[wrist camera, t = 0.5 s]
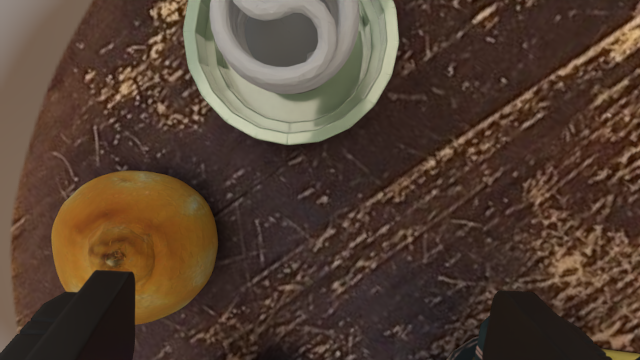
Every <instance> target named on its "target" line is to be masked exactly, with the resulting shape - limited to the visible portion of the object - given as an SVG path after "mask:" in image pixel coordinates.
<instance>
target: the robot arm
mask: <svg viewBox="0 0 640 360" xmlns="http://www.w3.org/2000/svg"><path fill="white" fill-rule="evenodd" d="M134 345H135V276H134V273H133V272H131V271H111V270H95V271H94V272H93V273H92V275H91V276H90V277H89V278H88V280H87V281H86V282H85V284H84V285H83V286H82V287H81V289H80V290H79V291H78V292H64V293H62V294H61V295H59V296H57V297H55V298H53V299H52V300H50V301H48V302H46V303H44V304H43V305H42V307H41V308H40V309H39V310H38V311H37V312H36V313H35V314H34V316H33V317H32V318H31V321H28V322H27V324H26V325H25V326H24V327H23V328H22V329H21V330H20V334H17V335H16V336H15V337H14V338H13V339H12V341H11V342H10V343H9V344H8V345H7V346H6V348H5V349H4V350H3V351H2V352H1V353H0V360H132V358H133V352H134ZM482 360H613V359H612V358H611V357H610V356H606V353H605V352H604V351H603V350H602V349H601V348H600V347H599V346H598V345H597V344H593V341H592V340H591V339H590V338H589V337H588V336H587V335H586V334H585V333H584V332H583V331H582V330H581V329H580V328H579V327H577V326H575V325H574V324H572V323H570V322H569V321H567V320H565V319H563V318H562V317H560V316H558V315H557V314H556V313H555V312H554V311H553V310H552V309H551V308H549V307H548V306H547V305H546V304H545V303H544V302H543V301H542V300H541V299H540V298H539V297H538V296H537V295H536V294H535V293H533V292H522V291H502V290H500V291H498V292H497V293H496V294H495V296H494V298H493V302H492V307H491V312H490V317H489V322H488V327H487V332H486V337H485V342H484V347H483V354H482Z"/></svg>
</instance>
